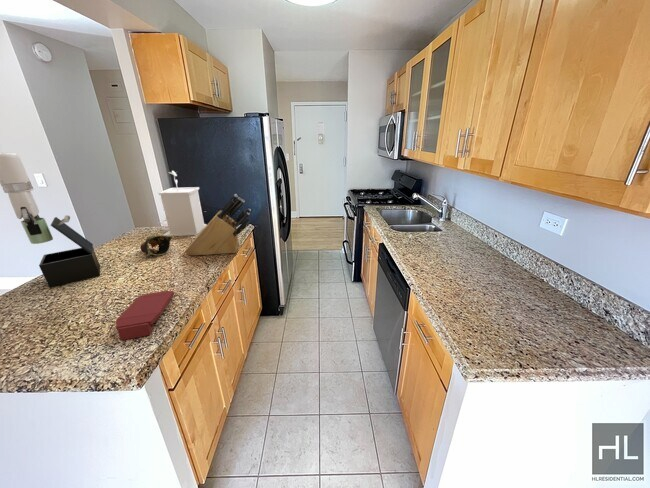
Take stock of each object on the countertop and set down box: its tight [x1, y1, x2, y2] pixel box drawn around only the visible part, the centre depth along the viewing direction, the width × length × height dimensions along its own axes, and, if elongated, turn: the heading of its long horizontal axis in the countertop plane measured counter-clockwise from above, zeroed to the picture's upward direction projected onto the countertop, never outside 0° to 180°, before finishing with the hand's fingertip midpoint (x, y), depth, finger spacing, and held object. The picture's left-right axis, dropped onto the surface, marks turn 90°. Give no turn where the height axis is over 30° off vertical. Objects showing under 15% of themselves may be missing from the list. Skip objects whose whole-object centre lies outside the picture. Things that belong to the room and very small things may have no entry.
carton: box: [115, 290, 175, 341], centre depth 92 cm, size 12×5×25 cm
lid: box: [50, 215, 94, 254], centre depth 115 cm, size 17×14×5 cm
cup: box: [20, 217, 54, 245], centre depth 105 cm, size 6×6×9 cm
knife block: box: [184, 193, 252, 256], centre depth 139 cm, size 11×35×31 cm, turn 99°
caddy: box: [38, 247, 101, 289], centre depth 117 cm, size 17×14×11 cm
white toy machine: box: [158, 170, 207, 237], centre depth 172 cm, size 24×28×40 cm
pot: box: [139, 234, 175, 256], centre depth 142 cm, size 17×11×18 cm
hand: (37, 231), depth 105 cm, fingers closed on cup, 6 cm apart
